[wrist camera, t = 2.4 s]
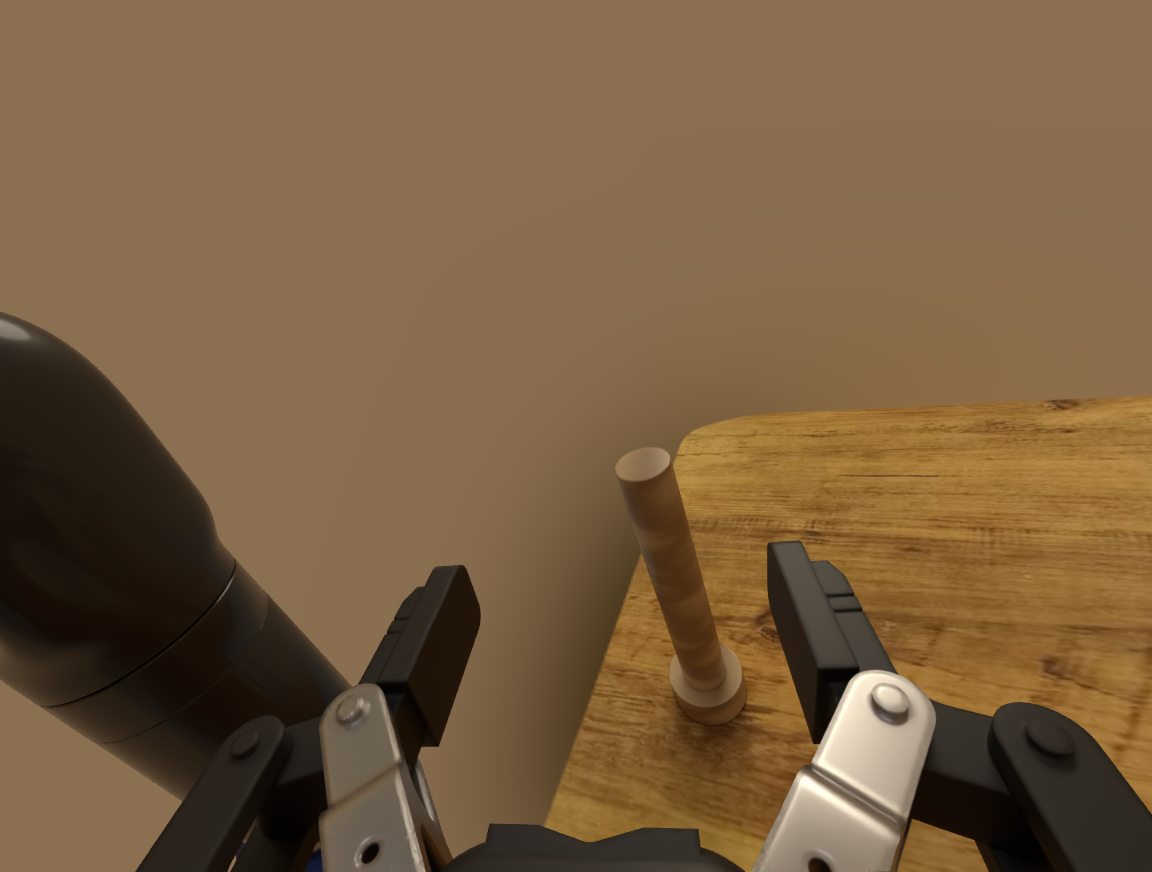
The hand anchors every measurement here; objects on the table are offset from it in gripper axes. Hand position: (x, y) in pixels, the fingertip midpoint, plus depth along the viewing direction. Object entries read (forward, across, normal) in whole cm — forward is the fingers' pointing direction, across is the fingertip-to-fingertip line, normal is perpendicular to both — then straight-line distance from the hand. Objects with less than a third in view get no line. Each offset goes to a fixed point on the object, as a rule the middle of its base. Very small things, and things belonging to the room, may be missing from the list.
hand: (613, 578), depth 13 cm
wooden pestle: (+11, +3, -20) cm, 23 cm away
